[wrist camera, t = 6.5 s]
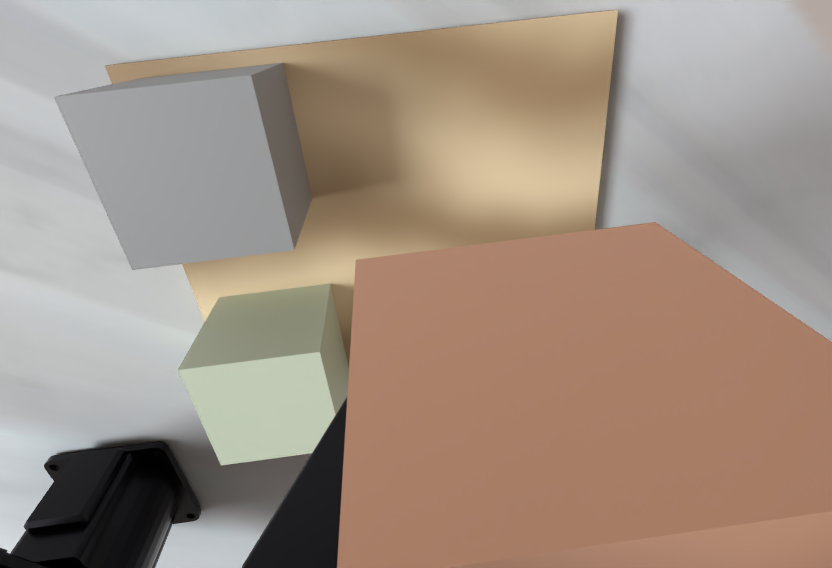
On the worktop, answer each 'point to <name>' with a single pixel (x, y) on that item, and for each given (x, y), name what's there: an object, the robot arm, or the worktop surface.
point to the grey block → (194, 163)
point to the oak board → (426, 144)
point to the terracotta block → (581, 411)
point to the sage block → (268, 373)
